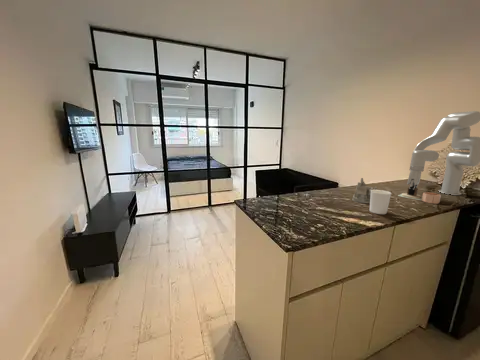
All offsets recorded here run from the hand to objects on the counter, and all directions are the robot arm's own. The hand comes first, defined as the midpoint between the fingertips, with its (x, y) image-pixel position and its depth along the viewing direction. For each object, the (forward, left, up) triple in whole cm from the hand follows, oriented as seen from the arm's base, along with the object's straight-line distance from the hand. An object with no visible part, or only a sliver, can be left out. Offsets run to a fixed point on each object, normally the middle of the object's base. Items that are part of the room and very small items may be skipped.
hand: (412, 193), depth 146 cm
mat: (0, 0, -3) cm, 3 cm away
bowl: (+5, +11, -3) cm, 12 cm away
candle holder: (+51, -3, -3) cm, 51 cm away
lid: (0, 0, -2) cm, 2 cm away
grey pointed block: (+33, -17, -3) cm, 38 cm away
